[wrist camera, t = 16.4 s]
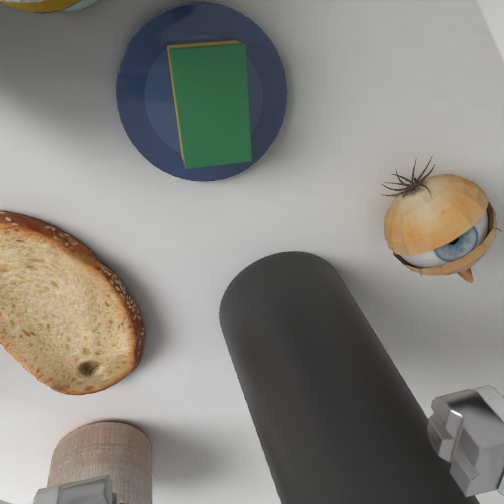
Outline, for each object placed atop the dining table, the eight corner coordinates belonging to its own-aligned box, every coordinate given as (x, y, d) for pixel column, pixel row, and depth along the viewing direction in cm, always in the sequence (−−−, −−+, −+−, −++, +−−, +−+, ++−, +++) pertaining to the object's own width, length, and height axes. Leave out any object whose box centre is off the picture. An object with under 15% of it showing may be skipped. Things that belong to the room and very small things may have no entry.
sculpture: (472, 142, 32) (554, 288, 36) (431, 125, 41) (502, 245, 45) (362, 213, 35) (451, 342, 39) (346, 183, 43) (420, 291, 48)
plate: (98, 8, 30) (97, 8, 29) (281, -4, 32) (286, -4, 31) (135, 186, 36) (134, 192, 35) (284, 166, 39) (288, 171, 37)
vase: (337, 346, 51) (522, 664, 26) (222, 365, 48) (307, 737, 24) (349, 243, 44) (611, 543, 20) (215, 260, 42) (324, 627, 17)
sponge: (166, 45, 31) (169, 49, 28) (236, 40, 32) (246, 43, 29) (181, 155, 35) (185, 169, 32) (242, 148, 36) (252, 161, 33)
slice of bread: (-62, 197, 34) (-83, 218, 30) (170, 239, 39) (173, 259, 36) (-63, 371, 41) (-80, 402, 38) (132, 384, 47) (132, 412, 44)
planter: (118, 489, 55) (114, 573, 46) (34, 466, 50) (13, 556, 41) (170, 435, 52) (175, 515, 44) (87, 405, 47) (75, 489, 39)
